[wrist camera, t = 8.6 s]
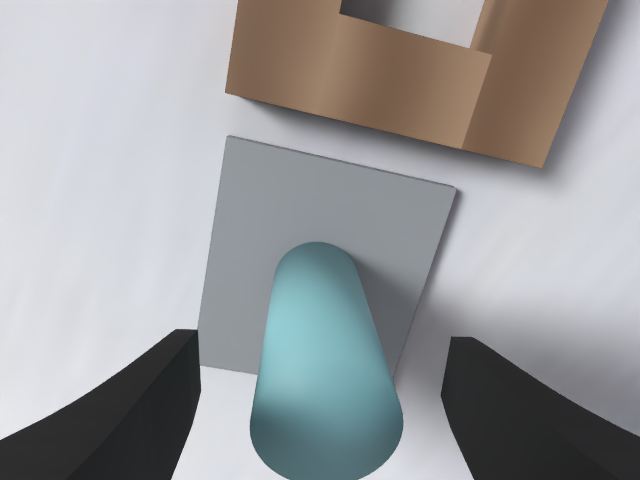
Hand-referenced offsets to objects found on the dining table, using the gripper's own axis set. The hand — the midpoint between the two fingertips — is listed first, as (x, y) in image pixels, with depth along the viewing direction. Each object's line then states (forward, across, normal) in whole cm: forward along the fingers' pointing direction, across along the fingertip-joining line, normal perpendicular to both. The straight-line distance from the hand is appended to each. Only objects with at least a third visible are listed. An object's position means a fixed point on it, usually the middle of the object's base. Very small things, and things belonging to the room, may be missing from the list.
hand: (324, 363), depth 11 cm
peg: (+6, 0, 0) cm, 6 cm away
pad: (+6, 0, 0) cm, 6 cm away
